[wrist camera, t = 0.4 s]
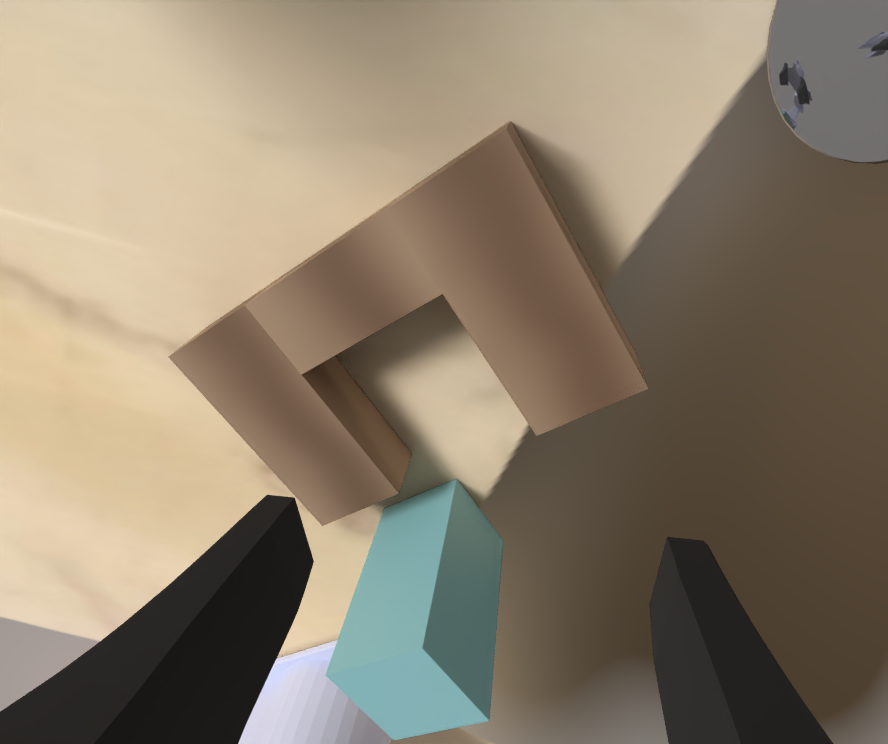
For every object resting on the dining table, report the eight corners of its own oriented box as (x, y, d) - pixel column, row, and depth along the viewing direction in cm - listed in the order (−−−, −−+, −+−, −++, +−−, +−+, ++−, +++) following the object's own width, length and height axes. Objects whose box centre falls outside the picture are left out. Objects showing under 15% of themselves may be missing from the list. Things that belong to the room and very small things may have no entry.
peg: (431, 564, 26) (393, 740, 19) (384, 508, 25) (325, 675, 18) (503, 540, 25) (489, 720, 18) (456, 478, 24) (422, 648, 17)
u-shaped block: (341, 485, 25) (322, 525, 23) (205, 328, 22) (168, 357, 20) (636, 353, 19) (648, 388, 17) (510, 121, 16) (506, 128, 14)
